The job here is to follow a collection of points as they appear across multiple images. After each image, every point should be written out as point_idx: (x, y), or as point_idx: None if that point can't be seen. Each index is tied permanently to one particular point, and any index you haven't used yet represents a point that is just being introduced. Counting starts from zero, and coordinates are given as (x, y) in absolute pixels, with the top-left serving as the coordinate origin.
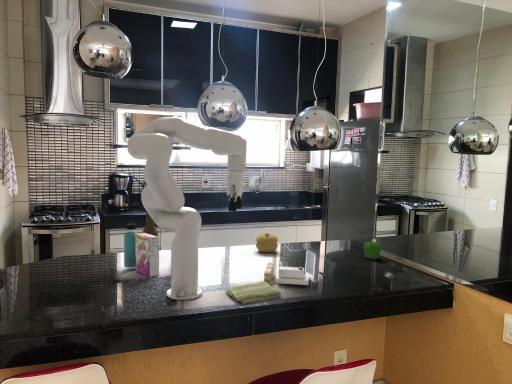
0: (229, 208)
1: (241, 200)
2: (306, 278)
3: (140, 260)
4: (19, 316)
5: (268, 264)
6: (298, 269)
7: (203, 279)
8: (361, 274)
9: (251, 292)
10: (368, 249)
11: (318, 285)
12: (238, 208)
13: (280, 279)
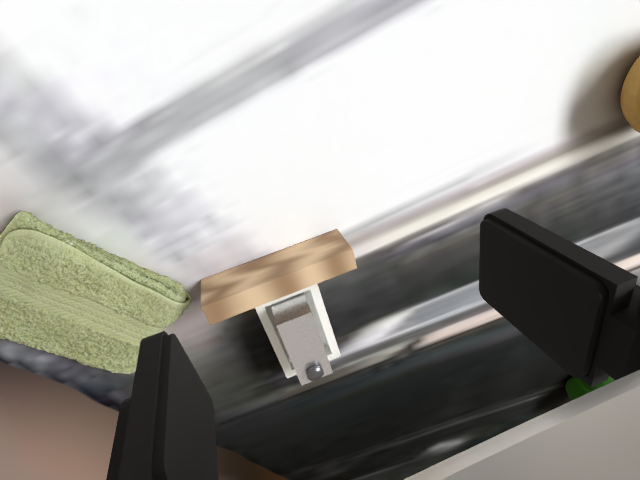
0: (145, 372)
1: (577, 375)
2: None
3: None
4: None
5: (327, 262)
6: (304, 369)
7: (112, 7)
8: (430, 412)
9: (34, 326)
10: None
11: (295, 385)
12: (480, 271)
13: (258, 315)
